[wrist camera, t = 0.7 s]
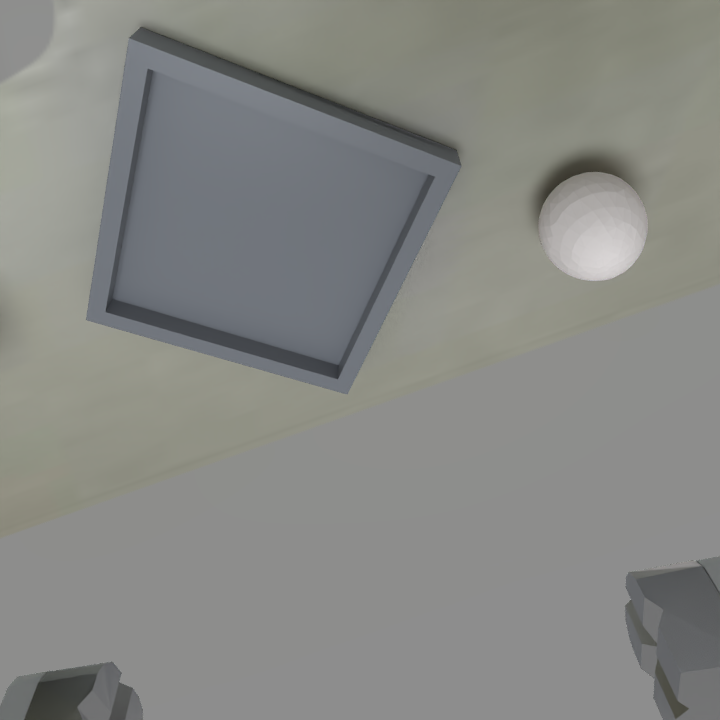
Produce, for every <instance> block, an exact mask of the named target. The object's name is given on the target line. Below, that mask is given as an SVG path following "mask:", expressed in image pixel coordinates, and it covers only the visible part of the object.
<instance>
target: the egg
mask: <svg viewBox="0 0 720 720" xmlns="http://www.w3.org/2000/svg"><path fill="white" fill-rule="evenodd" d="M538 225H539V237H540V241H541V245H542V247H543V249H544V251H545V252H546V254H547V256H548V258H549V259H550V260H551V261H552V262H553V264H554V265H555V266H556V267H557V268H559V269H560V270H561V271H563V272H564V273H566V274H568V275H570V276H573V277H575V278H578V279H583V280H588V281H599V280H607V279H611V278H613V277H616V276H618V275H620V274H622V273H624V272H625V271H626V270H627V269H628V268H629V267H631V266H632V265H633V264H634V262H635V261H636V260H637V258H638V257H639V255H640V254H641V252H642V250H643V248H644V244H645V240H646V236H647V232H648V220H647V215H646V211H645V207H644V204H643V202H642V201H641V199H640V197H639V196H638V194H637V192H636V191H635V190H634V189H633V188H632V187H631V186H630V185H629V184H628V183H626V182H625V181H624V180H622V179H621V178H619V177H616V176H614V175H612V174H607V173H602V172H586V173H582V174H579V175H575V176H572V177H571V178H569V179H567V180H565V181H563V182H562V183H560V184H559V185H558V186H557V187H556V188H555V189H554V190H553V191H552V192H551V193H550V194H549V196H548V197H547V199H546V201H545V202H544V204H543V206H542V209H541V213H540V216H539V222H538Z"/></svg>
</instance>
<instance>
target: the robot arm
mask: <svg viewBox="0 0 720 720" xmlns="http://www.w3.org/2000/svg"><path fill="white" fill-rule="evenodd" d="M626 589H627V591H628V594H629V596H630V598H631V600H630V601H629V602H628V603H627V604H626V606H625V616H626V624H627V629H628V634H629V638H630V641H631V644H632V647H633V650H634V653H635V655H636V657H637V660H638V662H639V665H640V667H641V669H642V670H644V671H645V672H646V673H648V674H649V675H650V676H652V677H653V678H654V679H655V680H654V700H655V702H656V704H657V707H658V709H659V711H660V714H661V716H662V718H663V720H720V556H719V557H713V558H708V559H703V560H698V561H694V560H691V561H686V562H681V563H676V564H670V565H665V566H660V567H654V568H649V569H644V570H639V571H633V572H629V573H628V575H627V576H626ZM120 677H121V672H120V670H119V669H118V668H117V667H116V665H115V664H114V663H113V662H107V663H100V664H94V665H88V666H82V667H75V668H69V669H63V670H56V671H47V672H42V673H36V674H30V675H24V676H19V677H17V678H16V679H15V680H14V681H13V682H12V683H11V685H10V686H9V687H8V689H7V691H6V693H5V696H4V698H3V700H2V703H1V705H0V720H143V709H142V706H141V703H140V700H139V696H138V695H137V694H136V692H135V691H134V689H133V688H131V687H129V686H127V685H124V684H122V683H120V682H119V681H120Z"/></svg>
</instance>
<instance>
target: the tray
mask: <svg viewBox="0 0 720 720" xmlns="http://www.w3.org/2000/svg"><path fill="white" fill-rule="evenodd" d="M460 168H461V163H460V160H459V156H458V153H457V150H455V149H452V148H450V147H447V146H444V145H442V144H439V143H437V142H434V141H432V140H429V139H426V138H424V137H421V136H419V135H416V134H414V133H411V132H408V131H406V130H403V129H401V128H398V127H396V126H393V125H390V124H388V123H385V122H383V121H380V120H378V119H375V118H373V117H370V116H367V115H365V114H362V113H360V112H357V111H355V110H352V109H349V108H347V107H344V106H342V105H339V104H337V103H334V102H331V101H329V100H326V99H324V98H321V97H319V96H316V95H313V94H311V93H308V92H306V91H303V90H301V89H298V88H296V87H293V86H290V85H288V84H285V83H283V82H280V81H278V80H275V79H272V78H270V77H267V76H265V75H262V74H260V73H257V72H254V71H252V70H249V69H247V68H244V67H242V66H239V65H236V64H234V63H231V62H229V61H226V60H224V59H221V58H218V57H216V56H213V55H211V54H208V53H206V52H203V51H201V50H198V49H195V48H193V47H190V46H188V45H185V44H183V43H180V42H177V41H175V40H172V39H170V38H167V37H165V36H162V35H159V34H157V33H154V32H152V31H149V30H147V29H144V28H140V29H138V30H137V31H136V32H135V33H134V34H133V35H132V36H131V37H130V38H129V42H128V48H127V55H126V61H125V68H124V74H123V81H122V87H121V94H120V101H119V107H118V114H117V120H116V127H115V133H114V140H113V146H112V153H111V160H110V166H109V173H108V179H107V186H106V192H105V199H104V205H103V212H102V219H101V225H100V232H99V238H98V245H97V251H96V258H95V264H94V271H93V278H92V284H91V291H90V297H89V304H88V310H87V317H86V320H88V321H91V322H95V323H98V324H102V325H105V326H109V327H112V328H116V329H119V330H123V331H126V332H130V333H133V334H137V335H140V336H144V337H147V338H151V339H154V340H158V341H161V342H165V343H168V344H172V345H175V346H179V347H183V348H186V349H190V350H193V351H197V352H200V353H204V354H207V355H211V356H214V357H218V358H221V359H225V360H228V361H232V362H235V363H239V364H242V365H246V366H249V367H253V368H256V369H260V370H263V371H267V372H270V373H274V374H277V375H281V376H284V377H288V378H291V379H295V380H298V381H302V382H305V383H309V384H312V385H316V386H320V387H323V388H327V389H330V390H334V391H337V392H341V393H344V394H348V392H349V390H350V388H351V386H352V384H353V382H354V380H355V378H356V376H357V374H358V372H359V370H360V368H361V366H362V364H363V362H364V360H365V358H366V356H367V354H368V352H369V350H370V348H371V346H372V344H373V342H374V340H375V338H376V336H377V334H378V332H379V330H380V328H381V326H382V324H383V322H384V320H385V318H386V316H387V314H388V312H389V310H390V308H391V306H392V304H393V302H394V300H395V298H396V296H397V294H398V292H399V290H400V288H401V286H402V284H403V282H404V280H405V278H406V276H407V274H408V272H409V270H410V268H411V266H412V264H413V262H414V260H415V258H416V256H417V254H418V252H419V250H420V248H421V246H422V244H423V242H424V240H425V238H426V236H427V234H428V232H429V230H430V228H431V226H432V224H433V222H434V220H435V218H436V216H437V214H438V212H439V210H440V208H441V206H442V204H443V202H444V200H445V198H446V196H447V194H448V192H449V190H450V188H451V186H452V184H453V182H454V180H455V178H456V176H457V174H458V172H459V170H460Z"/></svg>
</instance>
